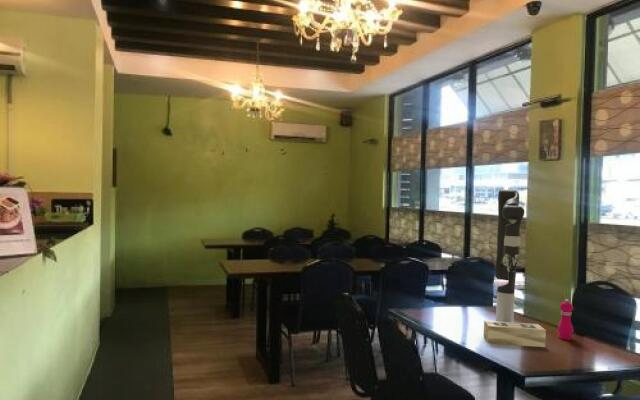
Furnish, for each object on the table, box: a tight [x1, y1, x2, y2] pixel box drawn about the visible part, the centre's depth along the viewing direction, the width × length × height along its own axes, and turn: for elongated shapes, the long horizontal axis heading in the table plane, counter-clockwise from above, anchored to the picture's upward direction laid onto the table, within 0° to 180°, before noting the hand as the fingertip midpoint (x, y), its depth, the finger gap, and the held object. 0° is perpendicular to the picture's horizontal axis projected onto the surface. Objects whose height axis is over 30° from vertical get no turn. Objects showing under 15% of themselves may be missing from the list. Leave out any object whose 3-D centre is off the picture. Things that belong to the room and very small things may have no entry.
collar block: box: [483, 320, 547, 348], centre depth 248 cm, size 12×26×8 cm, turn 83°
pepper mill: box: [557, 298, 574, 341], centre depth 259 cm, size 7×7×20 cm
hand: (510, 278), depth 259 cm, fingers closed
